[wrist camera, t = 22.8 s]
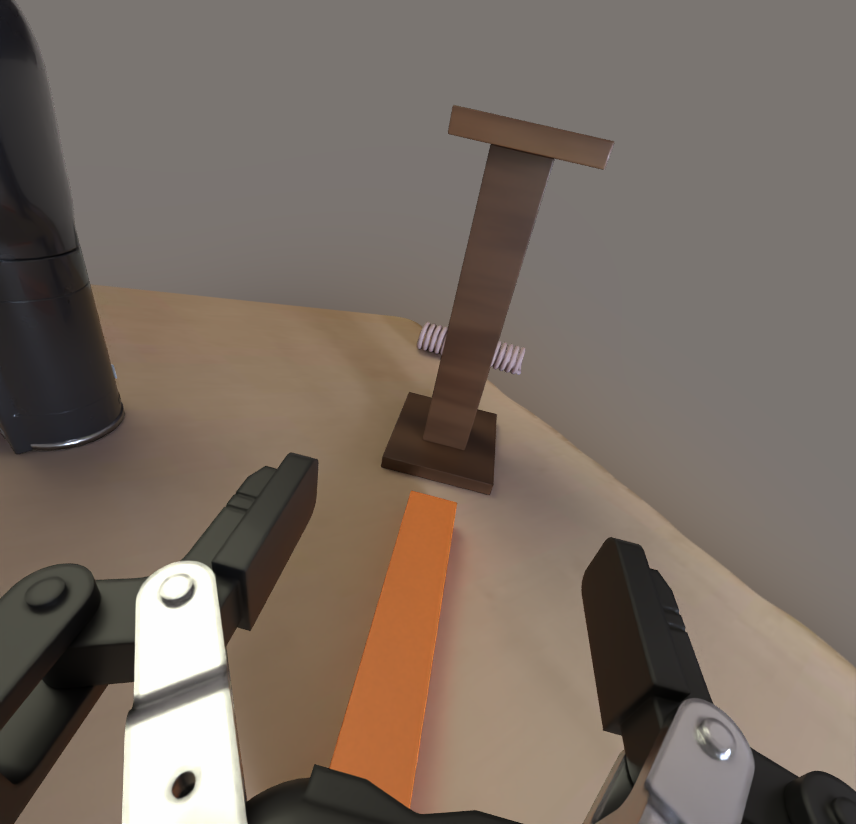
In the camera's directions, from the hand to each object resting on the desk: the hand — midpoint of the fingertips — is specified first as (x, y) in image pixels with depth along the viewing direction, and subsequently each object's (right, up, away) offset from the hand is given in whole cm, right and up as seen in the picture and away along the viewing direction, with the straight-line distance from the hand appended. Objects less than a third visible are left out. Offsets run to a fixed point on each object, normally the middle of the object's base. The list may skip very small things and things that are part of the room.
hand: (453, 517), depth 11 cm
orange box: (-3, -14, +18) cm, 23 cm away
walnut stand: (+1, -1, +39) cm, 39 cm away
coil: (+6, +11, +59) cm, 61 cm away
